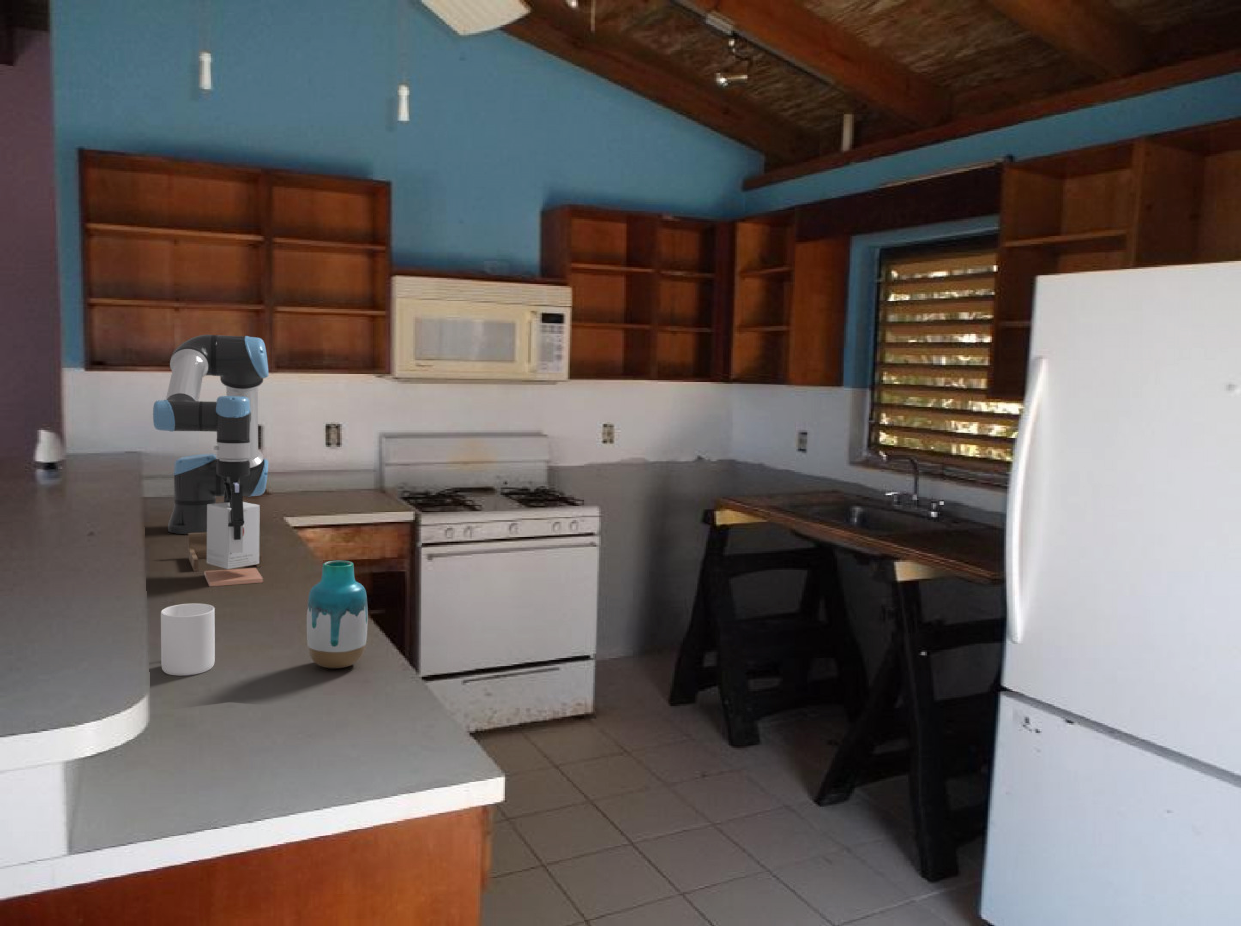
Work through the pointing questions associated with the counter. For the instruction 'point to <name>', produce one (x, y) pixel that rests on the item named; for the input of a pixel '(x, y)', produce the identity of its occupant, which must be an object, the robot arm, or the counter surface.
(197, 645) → the mug
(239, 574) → the terracotta tile
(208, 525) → the supplement box
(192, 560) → the wooden u-shaped frame
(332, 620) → the vase
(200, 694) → the counter surface
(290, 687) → the counter surface
